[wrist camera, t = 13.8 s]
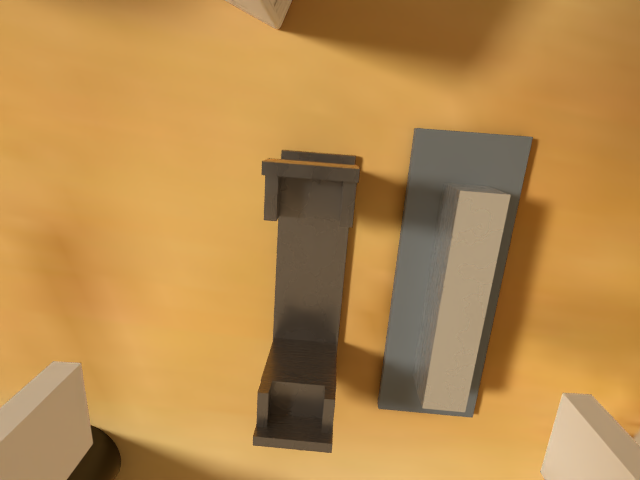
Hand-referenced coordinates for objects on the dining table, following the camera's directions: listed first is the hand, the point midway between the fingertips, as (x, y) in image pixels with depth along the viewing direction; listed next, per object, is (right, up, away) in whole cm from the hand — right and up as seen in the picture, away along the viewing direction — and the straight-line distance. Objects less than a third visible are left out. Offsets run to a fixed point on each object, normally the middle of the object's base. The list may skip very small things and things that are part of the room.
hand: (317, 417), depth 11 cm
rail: (+11, +1, +23) cm, 26 cm away
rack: (-1, +2, +24) cm, 24 cm away
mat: (+11, +1, +24) cm, 26 cm away
